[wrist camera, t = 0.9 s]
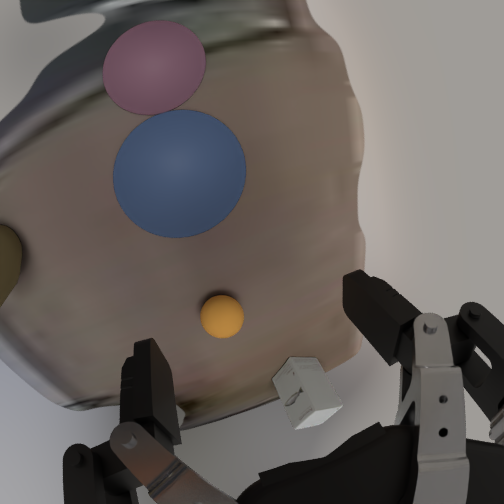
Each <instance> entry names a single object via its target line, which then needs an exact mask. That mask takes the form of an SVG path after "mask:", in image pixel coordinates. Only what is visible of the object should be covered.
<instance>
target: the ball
mask: <svg viewBox="0 0 504 504" xmlns="http://www.w3.org/2000/svg"><path fill="white" fill-rule="evenodd" d="M200 319H201V323H202V326H203V328H204V329H205V330H206V332H208V333H209V334H210V335H212V336H214V337H217V338H228V337H231V336H233V335H234V334H236V333H237V332H238V331H239V330H240V328H241V327H242V324H243V321H244V313H243V310H242V307H241V305H240V304H239V303H238V302H237V301H236V300H235V299H234V298H232V297H230V296H226V295H218V296H214V297H212V298H210V299H209V300H207V301H206V303H205V304H204V305H203V307H202V309H201V314H200Z"/></svg>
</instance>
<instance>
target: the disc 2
mask: <svg viewBox="0 0 504 504" xmlns="http://www.w3.org/2000/svg"><path fill="white" fill-rule="evenodd" d="M245 177H246V165H245V158H244V154H243V151H242V148H241V146H240V144H239V142H238V140H237V138H236V137H235V135H234V134H233V133H232V132H231V130H230V129H229V128H227V127H226V126H225V125H224V124H223V123H222V122H220V121H219V120H217V119H216V118H214V117H212V116H210V115H207V114H204V113H201V112H197V111H192V110H173V111H168V112H164V113H161V114H158V115H155V116H153V117H151V118H149V119H147V120H146V121H144V122H143V123H141V124H140V125H139V126H138V127H136V128H135V129H134V130H133V131H132V132H131V133H130V135H129V136H128V137H127V138H126V139H125V141H124V143H123V144H122V146H121V148H120V150H119V152H118V155H117V157H116V161H115V165H114V172H113V183H114V190H115V193H116V197H117V199H118V202H119V204H120V206H121V208H122V209H123V211H124V212H125V214H126V215H127V216H128V217H129V218H130V219H131V220H132V221H133V222H134V223H135V224H136V225H138V226H139V227H141V228H142V229H144V230H146V231H148V232H150V233H153V234H155V235H159V236H163V237H170V238H182V237H189V236H193V235H197V234H200V233H202V232H205V231H207V230H209V229H211V228H212V227H214V226H216V225H217V224H218V223H220V222H221V221H222V220H223V219H224V218H225V217H226V216H227V215H228V214H229V213H230V212H231V211H232V209H233V208H234V207H235V205H236V203H237V202H238V200H239V198H240V196H241V193H242V191H243V187H244V184H245Z"/></svg>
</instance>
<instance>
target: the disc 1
mask: <svg viewBox="0 0 504 504" xmlns="http://www.w3.org/2000/svg"><path fill="white" fill-rule="evenodd" d="M205 67H206V58H205V52H204V48H203V46H202V44H201V42H200V40H199V39H198V37H197V36H196V35H195V34H194V33H193V32H192V31H191V30H189V29H188V28H186V27H185V26H183V25H180V24H178V23H175V22H171V21H150V22H145V23H142V24H139V25H137V26H135V27H133V28H131V29H129V30H128V31H126V32H125V33H124V34H122V35H121V36H120V37H119V38H118V39H117V40H116V41H115V43H114V44H113V45H112V46H111V48H110V50H109V51H108V53H107V56H106V58H105V61H104V66H103V82H104V85H105V89H106V91H107V93H108V95H109V96H110V97H111V99H112V100H113V101H114V102H115V103H116V104H117V105H118V106H120V107H121V108H123V109H125V110H127V111H129V112H132V113H136V114H142V115H153V114H160V113H164V112H167V111H170V110H172V109H174V108H176V107H178V106H179V105H181V104H182V103H184V102H185V101H186V100H188V99H189V98H190V97H191V96H192V95H193V93H194V92H195V91H196V90H197V88H198V86H199V85H200V83H201V81H202V78H203V75H204V72H205Z"/></svg>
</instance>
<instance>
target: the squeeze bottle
mask: <svg viewBox="0 0 504 504" xmlns="http://www.w3.org/2000/svg"><path fill="white" fill-rule="evenodd" d="M21 260H22V246H21V243H20V241H19V238H18V237H17V235H16V234H15V233H14V231H13V230H11V229H10V228H8V227H7V226H4V225H0V307H1V306H2V304H3V303H4V301H5V300H6V298H7V297H8V295H9V294H10V292H11V291H12V289H13V288H14V286H15V285H16V284H17V281H18V278H19V274H20V267H21Z"/></svg>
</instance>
